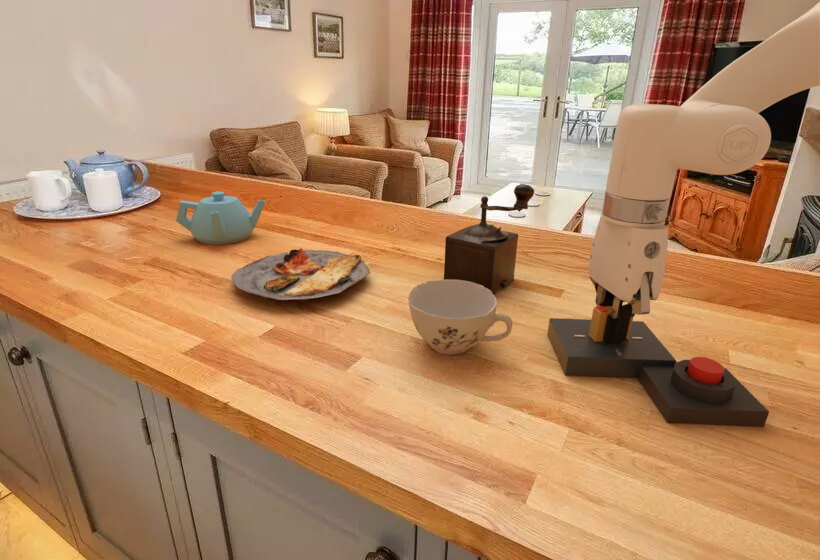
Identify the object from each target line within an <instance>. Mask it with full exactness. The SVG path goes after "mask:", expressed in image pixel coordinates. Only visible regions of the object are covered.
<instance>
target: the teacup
mask: <svg viewBox="0 0 820 560" xmlns="http://www.w3.org/2000/svg"><path fill="white" fill-rule="evenodd" d="M407 298H408V299H407V300H408V306H409V312H410V316H411V320H412V323H413V326H414V327H415V329H416V331H417V332H418V334H419V335H420V337H421V338H422V339H423V340H424V341H425V343H426V344H428V345H429V346H430V348H431V349H432V350H433V351H435V352H437V353H439V354H442V355H459V354H463V353H465V352H467V351H468V350H469V349H471V348H472V347H474V346H475V345H477V344H478V343H481V342H498V341H502V340H504V339H506V338H507V337H509V335H510V334H511V333H512V330H513V320H512V318H511V316H510V315H508V314H506V313H502V312H501V313H500V312H499V313H496V312H497V309H498V308H497V307H498V298H497V297H496V296H495V294H492V292H491V291H490V290H489V289H487V288H484V286H482V285H479V284H476V283H472V282H469V281H463V280H444V279H440V280H429V281H427V282H425V283H424V282H422V283H420V284H417V285H416V286H414V287H413V288H412V290H410V292H409V294H408V297H407ZM497 322H503V323H505V325H506V330H505V331H503V332H501V333H500V334H495V335H487V333H488V331H489V329H490V328H492V327H493V326H494V325H495V324H496V323H497Z"/></svg>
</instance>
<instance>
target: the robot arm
mask: <svg viewBox="0 0 820 560" xmlns="http://www.w3.org/2000/svg"><path fill="white" fill-rule="evenodd" d="M819 86H820V1H819V2H818V3H816V4H815V5H814V6H813V7H811V8H810V9H809V10H807V11H806V12H805V13H804V14H802V15H800V16H799V17H798V18H797V19H795V20H793V21H792V22H790V23H789V24H786V25H785V26H784V27H782V28H781V29H779V30H777V31H776V32H775V33H773V34H772V35H771V36H769V37H768V38H766V39H765V40H763V41H762V42H760V43H759V44H757V45H755V46H754V47H753V48H751V49H750V50H748V51H746V52H745V53H743V54H742V55H741V56H739V57H738V58H736V59H734V60H733V61H732V62H731V63H729V64H728V65H726V66H725V67H724V68H722V69H721V70H720V71H719V72H717V73H716V74H715V75H714V76H713V77H712V78H710V79H709V80H708V81H707V82H706V83H705V84H703V85H702V86H701V87H700V88H699V89H698V90H696V91H695V92H694V93H693V94H692V95H691V96H689V97H688V98H687V99H686V100H685V101H684V102H683V103H682V104H681V105H679V106H678V105H671V104H660V103H659V104H658V103H655V104H654V103H636V104H635V103H634V104H630V105H627V106H625V107H623V109H622V110H621V111H620V112H619V115H618V119H617V121H616V122H617V123H616V127H615V128H616V129H615V134H614V139H613V146H612V151H611V156H610V157H611V158H610V163H609V169H608V173H607V180H606V185H605V191H604V197H603V201H602V202H603V203H602V208H601V214H600V217H599V220H598V224H597V226H596V230H595V232H594V233H595V234H594V238H593V240H592V245H591V249H590V255H589V262H588V275H589V279H590V281H591V283H592V285H593V286H594V289H595V292H596V295H595V300H594V301H595V306H603V307H605V306H613V307H612V312H611V315H608V316H607V321H606V326H605V331H604V336H603V340H604V341H605V342H606V343H610V342H621V341H625V340H626V337H627V332H628V327H629V323H630V318H631V317H633V318H634V317H635V316H636V315H649V314H650V312H651V301H657V300H658V299H659V297H660V295H661V292H662V288H663V283H664V282H663V281H664V277H665V271H666V264H667V257H668V245H669V243H668V242H669V228H668V226H666V225H665V224H666V219H667V217H668V211H669V207H670V204H671V203H670V202H671V198H672V193H673V189H674V185H675V181H676V176H677V172H678V170H686V171H692V172H698V173H702V174H703V173H704V174H708V175H709V174H710V175H715V176H728V175H735V174H739V173H742V172H744V171H747V170H749V169H751V168H753V167H755V166H756V165H757V163H759V162H760V161H761V160H762V159H764V157H765V155H766V154H767V152H768V151H769V148H770V145H771V143H772V142H771V141H772V132H771V131H772V130H771V127H770V125H769V123H768V122H767V120H766V119H765V118H764V117H763V116H762V115H761V114H760V113H761V112H763V111H764V110H766V109H767V108H769V107H771V106H772V105H774V104H776V103H778V102H780V101H783V100H784V99H786V98H789V97H790V96H793V95H795V94H798V93H800V92H803V91H805V90H809V89H812V88H815V87H819ZM624 303H625V304H624ZM622 305H623V306H622Z"/></svg>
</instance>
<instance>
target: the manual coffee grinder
mask: <svg viewBox="0 0 820 560" xmlns="http://www.w3.org/2000/svg"><path fill="white" fill-rule="evenodd" d="M534 194H535V189H534V188H533V187H532V186H531V185H530V184H525V183H520V184H518V185H516V186H515V187H514V189H513V195H514V196H515V199H516V200H515V203H514V204H513V206H503V205H502V206H501V205H489V203H488V202H489V198H488V196H486V195H483V196H481V198H480V202H481V203H480V206H479V208H481V215H480V222H479V223H477V224H471V225H469V226H466V227H463V228H462V229H460V230H458V231H455V232H453V233H450V234H448V235H447V236H445V247H444V268H443V270H444V271H443V280H463V281H469V282H472V283H476V284H479V285H482V286H484V288H487V289H489V290H490V291H491V292H492V294H493V295H495V294H496V293H498V292H500V291H501V290H503V289H505V288H506V287H507V286H508V285H509V284H510V283H512V282H513V280H514V278H515V268H516V263H517V252H518V251H517V250H518V241H519V233H515V232H512V231H507V230H502V227H497V226H495V225H494V224H490V223H487V212H488V211H491V212H492V211H499V212H500V211H501V212H513V211H518V213H520V212H521V211H523V210H528V209H529V202H530V200H531V199H533V197H534Z"/></svg>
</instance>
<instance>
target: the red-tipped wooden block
mask: <svg viewBox="0 0 820 560" xmlns="http://www.w3.org/2000/svg"><path fill="white" fill-rule="evenodd" d="M623 305H624V304H622V306H623ZM612 307H613V306H605V307H603V306H597V305H595V306H593V308H592V314H591V319H590V320H591V325H590V330H589V337H590V338H591V339H593V340H594V341H595V342H600V341H604V340H603V336H604V331H605V326H606V321H607V316H608V315H611V312H612ZM632 321H634V317H631V318H630V323H629V327H628V332H627V337H626V339H629V335H630V330H631V326H632Z"/></svg>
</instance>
